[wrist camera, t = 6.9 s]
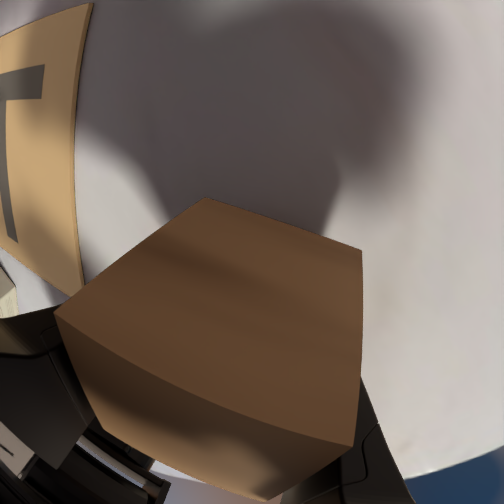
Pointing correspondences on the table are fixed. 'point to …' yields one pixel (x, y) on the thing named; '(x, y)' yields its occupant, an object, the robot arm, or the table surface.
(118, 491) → the robot arm
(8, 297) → the small box
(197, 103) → the table surface
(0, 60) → the letter card
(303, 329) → the walnut block
